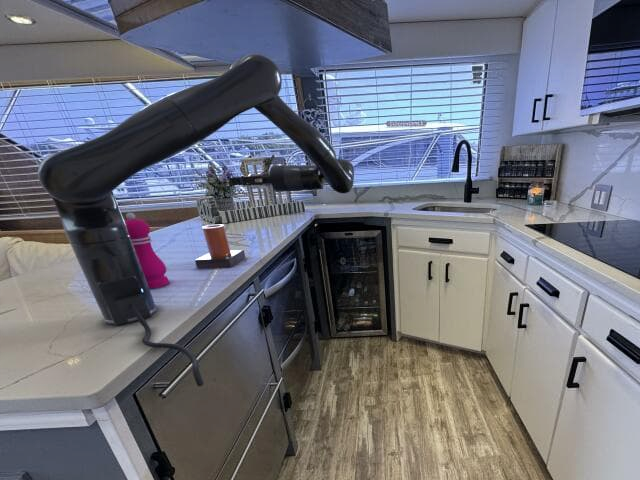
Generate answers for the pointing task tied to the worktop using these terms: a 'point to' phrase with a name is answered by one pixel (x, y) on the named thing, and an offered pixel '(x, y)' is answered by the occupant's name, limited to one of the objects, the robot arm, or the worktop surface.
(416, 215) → the worktop surface
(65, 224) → the robot arm
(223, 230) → the cup
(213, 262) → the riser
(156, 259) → the pepper mill
